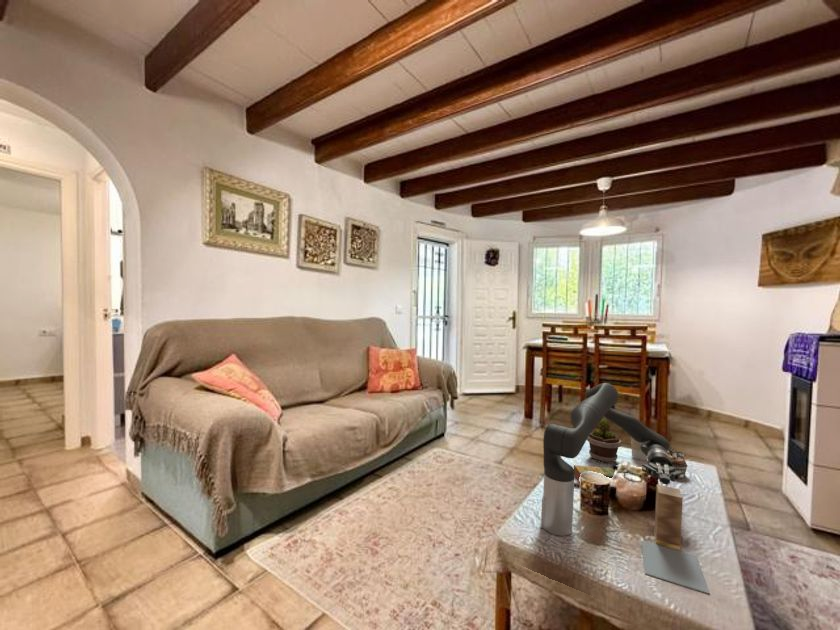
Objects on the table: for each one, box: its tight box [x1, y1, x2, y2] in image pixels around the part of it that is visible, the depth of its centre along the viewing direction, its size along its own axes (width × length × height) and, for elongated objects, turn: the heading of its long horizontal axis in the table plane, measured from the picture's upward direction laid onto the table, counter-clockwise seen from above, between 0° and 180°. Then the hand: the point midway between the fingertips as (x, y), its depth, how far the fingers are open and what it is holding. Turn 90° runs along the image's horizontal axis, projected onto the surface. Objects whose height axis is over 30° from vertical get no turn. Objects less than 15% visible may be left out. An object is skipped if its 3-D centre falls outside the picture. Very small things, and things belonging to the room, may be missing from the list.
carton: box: [573, 464, 615, 480], centre depth 155 cm, size 8×16×4 cm, turn 83°
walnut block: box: [653, 484, 683, 551], centre depth 114 cm, size 6×6×16 cm
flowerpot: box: [586, 417, 623, 464], centre depth 175 cm, size 14×15×20 cm
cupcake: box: [667, 448, 688, 478], centre depth 162 cm, size 10×10×10 cm
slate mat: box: [640, 540, 711, 595], centre depth 104 cm, size 14×16×1 cm
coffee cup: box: [630, 426, 650, 461], centre depth 179 cm, size 9×9×15 cm
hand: (665, 481), depth 122 cm, fingers closed
